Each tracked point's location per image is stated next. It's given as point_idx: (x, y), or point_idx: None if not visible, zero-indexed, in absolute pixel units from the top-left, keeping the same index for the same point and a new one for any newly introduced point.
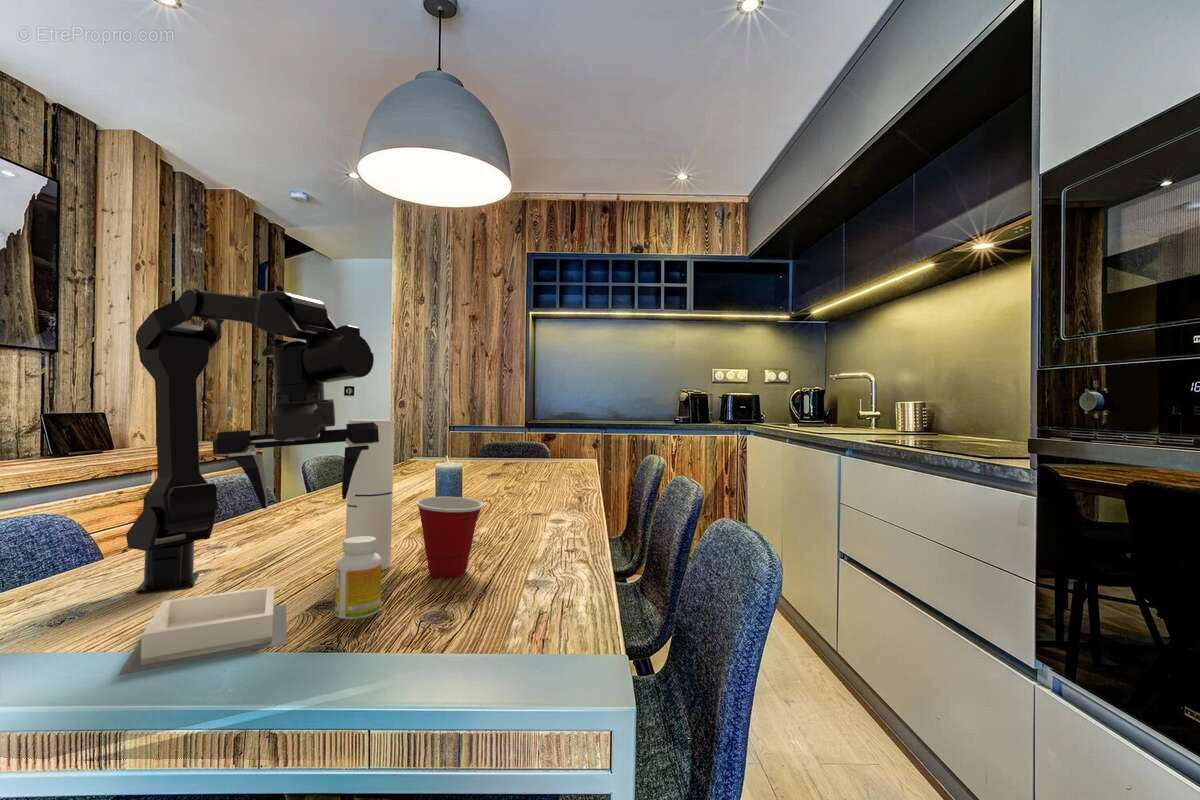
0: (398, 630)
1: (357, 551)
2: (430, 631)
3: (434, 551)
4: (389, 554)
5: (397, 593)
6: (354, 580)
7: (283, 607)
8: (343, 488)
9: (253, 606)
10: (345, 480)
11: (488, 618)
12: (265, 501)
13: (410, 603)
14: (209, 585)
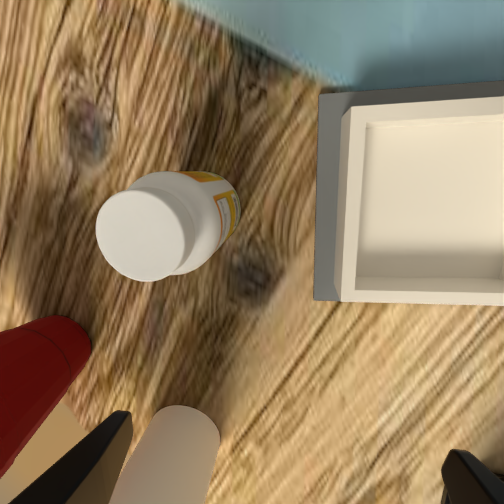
0: (146, 96)
1: (155, 188)
2: (97, 65)
3: (44, 350)
4: (141, 438)
5: (143, 282)
6: (189, 173)
7: (318, 285)
8: (91, 454)
9: (369, 278)
10: (40, 502)
11: (5, 82)
12: (477, 479)
13: None
14: (422, 467)
